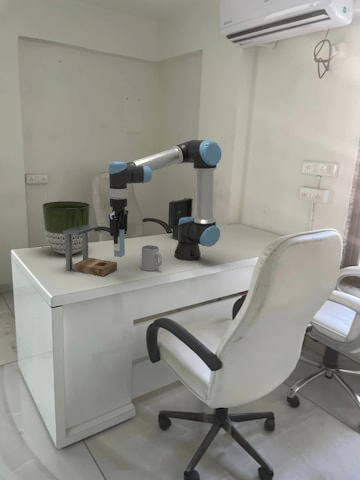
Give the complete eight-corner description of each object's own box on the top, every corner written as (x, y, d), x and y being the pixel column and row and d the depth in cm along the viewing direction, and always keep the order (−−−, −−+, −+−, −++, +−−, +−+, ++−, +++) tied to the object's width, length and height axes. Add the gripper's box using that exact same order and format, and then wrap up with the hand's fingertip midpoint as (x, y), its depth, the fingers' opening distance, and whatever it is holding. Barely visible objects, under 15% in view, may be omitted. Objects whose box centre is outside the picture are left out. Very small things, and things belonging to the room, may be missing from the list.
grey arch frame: (98, 265, 186) (97, 226, 181) (79, 274, 171) (77, 232, 166) (84, 262, 189) (84, 224, 183) (64, 272, 174) (63, 230, 169)
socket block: (116, 270, 180) (116, 262, 179) (103, 277, 169) (103, 269, 168) (89, 265, 185) (89, 257, 184) (74, 272, 174) (74, 264, 173)
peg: (124, 255, 168) (124, 229, 165) (120, 257, 165) (120, 231, 162) (117, 254, 170) (117, 228, 166) (114, 256, 166) (113, 230, 163)
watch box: (203, 242, 239) (205, 205, 232) (167, 236, 252) (168, 200, 246) (220, 235, 260) (222, 201, 254) (186, 229, 274) (187, 197, 268)
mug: (137, 268, 184) (138, 247, 181) (149, 264, 190) (150, 244, 188) (154, 274, 177) (155, 252, 174) (166, 270, 183) (167, 249, 180)
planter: (99, 253, 204) (99, 205, 198) (59, 262, 187) (57, 210, 180) (75, 244, 220) (74, 199, 214) (36, 251, 203) (33, 203, 196)
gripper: (120, 194, 169) (121, 243, 175) (100, 199, 154) (102, 253, 160) (134, 196, 167) (135, 245, 173) (116, 201, 152) (117, 255, 158)
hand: (119, 249), depth 167 cm, fingers closed on peg, 3 cm apart
